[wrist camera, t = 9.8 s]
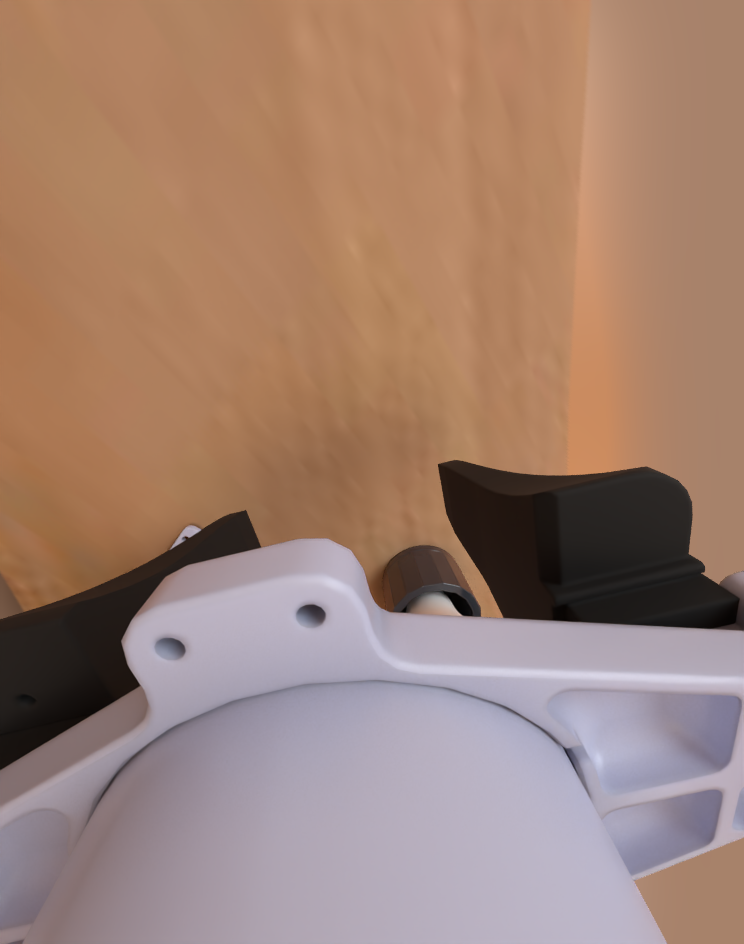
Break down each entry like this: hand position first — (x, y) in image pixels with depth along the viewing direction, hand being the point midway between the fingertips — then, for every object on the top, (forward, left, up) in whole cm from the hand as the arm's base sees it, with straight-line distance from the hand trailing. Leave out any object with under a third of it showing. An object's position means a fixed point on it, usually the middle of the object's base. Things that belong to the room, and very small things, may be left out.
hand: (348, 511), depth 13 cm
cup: (-5, -11, -10) cm, 16 cm away
